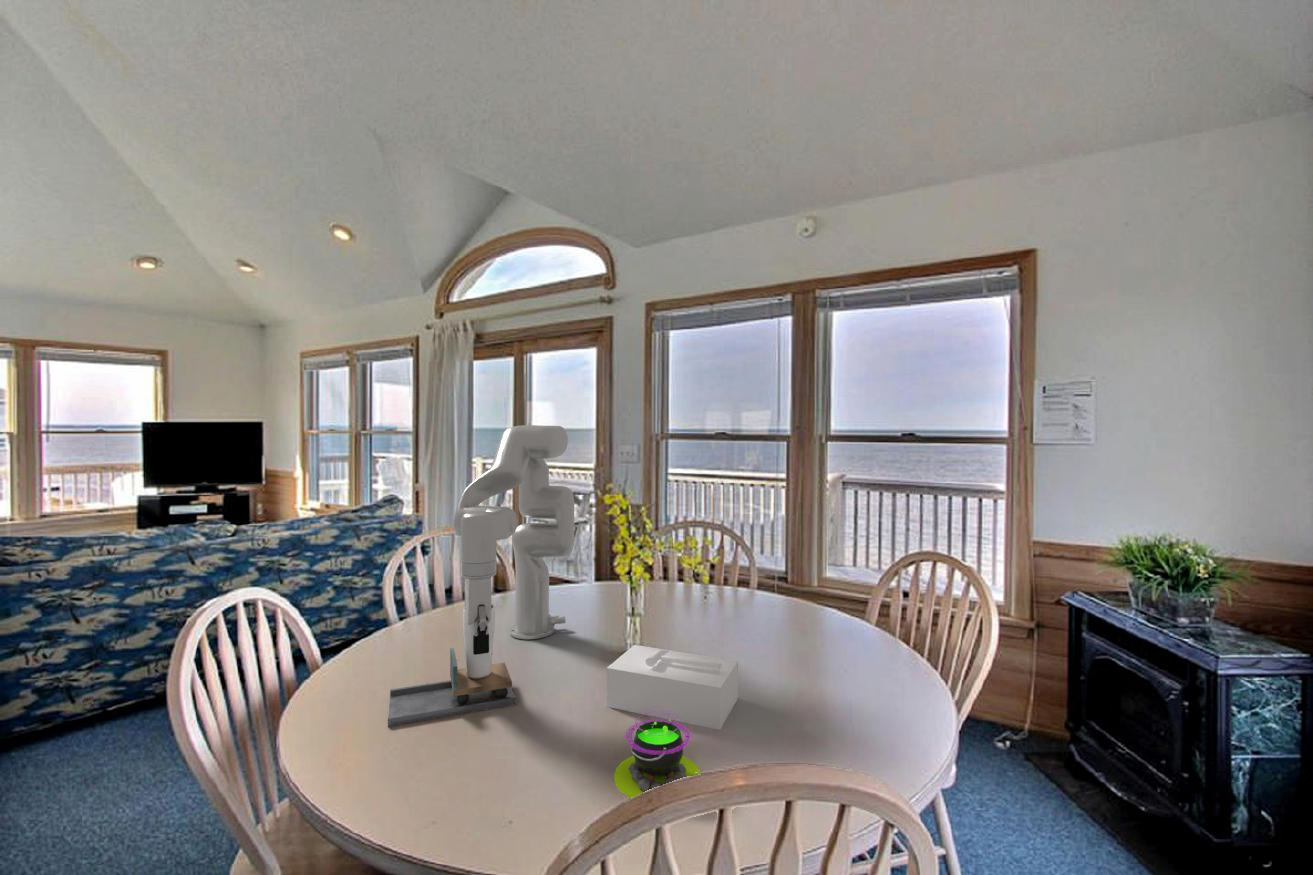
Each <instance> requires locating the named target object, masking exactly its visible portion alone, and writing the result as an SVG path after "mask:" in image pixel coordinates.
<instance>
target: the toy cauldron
mask: <svg viewBox="0 0 1313 875" xmlns="http://www.w3.org/2000/svg"><path fill="white" fill-rule="evenodd" d="M653 708H654V707H653ZM656 708H658V707H656ZM651 709H652V708H651ZM662 709H663V707H662ZM665 710H666V709H665ZM649 711H650V709H649ZM649 711H648V712H649ZM654 712H656V711H654ZM659 712H662V711H659ZM669 712H670V710H669ZM652 713H653V712H652ZM663 713H666V712H663ZM667 713H668V712H667ZM645 714H648V713H645ZM645 714H641V715H639V718H640V717H643V716H644V715H645ZM669 714H670V713H669ZM669 714H668V716H669ZM671 715H672V714H671ZM647 716H650V715H649V714H648V715H647ZM675 717H676V716H675ZM639 718H636V719H635V722H634V723H635V724H633V725H631V726H629V728H628V729H626V733H625V735H624V736H625V738H624V740H625V741H626V743H627V744H628V746H629V747H630V748H631V750H630V753H631V754H632V755H631V756H629V757H626V759H625V760H623V761H622V762H621V763H620V764H619V765H618V766H617V767H616V769H615V772H614V775H613V776H614V777H613V778H614V783H615V785H616V788H617V789H618V790H619V791H620V793H622V794H623V795H625V796H626V797H628V798H629V799H631V797H636V796H637V795H639V794H641V793H643V792H645V791H647V790H649V789H652V788H654V787H657V786H662V785H663V784H666V783H669V782H672V781H674V780H677V779H680V778H683V777H687V776H694V775H698V774H701V775H702V773H701V770H700V769H701V768H699V766H698V765H697V764H696V763H695V762H694V761H692V760H691V759H690V758H687V757H686V756H684V749H685V747H688V746H689V744H690V743H691V741H692V738H693V737H692V734H691V731H690V730H688V729H687V728H686V727H685V725H682V722H680V718H679V717H678V719H679V721H674V720H669V719H664V720H662V719H660V718H659V717H656V718H655V717H651V719H646V720H642V721H640V722H638V720H639ZM666 718H668V717H667V716H666ZM676 718H677V717H676ZM635 730H636V731H635ZM634 731H635V736H634V738H633V736H632V735H633V733H634ZM681 731H682V733H683V735H684V740H683V738H682V735H681ZM695 772H698V773H695Z"/></svg>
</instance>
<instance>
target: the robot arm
mask: <svg viewBox="0 0 1313 875" xmlns="http://www.w3.org/2000/svg"><path fill="white" fill-rule="evenodd" d="M568 437H569V436H568V434H567V431H566V430H565V428H564V427H563V426H561V425H535V424H532V425H529V424H527V425H525V424H524V425H523V424H522V425H516V426H515V425H514V426H512V427H509V428H507V429H505V430H504V431H503V433H502V435H501V437H500V440H499V443H498V446H497V449H496V452H495V455H494V457H493V461H492V464H491V466H490V469H489V470H487V471H485V472H484V473H483V474H481V475H479V476H478V477H477V478H476V479H475V480H473V481H472V482H471V483H470V484H469V485H467V487H466V488H465V489H464V491H463V492H462V494H461V496H460V499H459V501H458V504H457V506H456V509H455V513H454V517H453V523H452V524H453V530H454V533H455V535H457V536H459V537H460V577H461V578H463V579H464V581H465V582H464V605H463V606H464V607H465V610H466V622H467V624H468V625H471V624H473V623H474V632H475V635H473V654H474V655H477V654H484V653H488V652H489V634H488V623H489V622H490V620H491V604H492V577H495V576H496V575H497V572H498V571H497V569H498V568H497V565H498V564H497V541H500V540H506V539H508V538H511V540H512V541H511V542H512V549H513V550H512V551H513V554H514V556H513V557H514V563H515V565H514V566H515V569H514V570H515V606H514V607H515V609H514V610H515V621H514V624H515V625H512V626H511V627H510V628H509V635H510V636H511V637H513V638H516V639H520V640H538V639H542V638H545V637H549V636H551V635H552V634H553V633H554V632H555V625H562V624H566V617H565V616H560V615H553V616H551V614H550V572H549V567H548V565H547V563H546V562H545V560H544V559H543V558H566V557H569V556H570V555H571V554H572V552H573V549H574V541H575V498H574V493H573V491H572V489H570V487H568V486H565V485H550V468H549V466H548V463H547V462H546V460H545V459H555V458H557V457H561V456H563V455H564V453H565V452H566V450H567V448H568V444H569V440H568ZM517 487H518V510H519V514H520V515H521V516H522V517H523V518H526V519H542V520H543V519H544V520H545V519H546V520H547V519H548V520H549V519H550V520H555V521H556V523H544V522H526V523H522V524H519V520H518V515H517V513H516V512H515V510H513V508H511V507H507V506H491V505H490V506H489V505H488V506H485V505H481V504H482V503H483V502H484V501H486V500H487V499H490V498H491V497H493V496H496V495H499V494H502V493H504V492H507V491H510V490H512V489H514V488H517ZM464 607H463V608H464ZM487 617H488V618H487ZM476 620H479V621H476ZM477 625H479V626H478V627H477Z"/></svg>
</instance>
